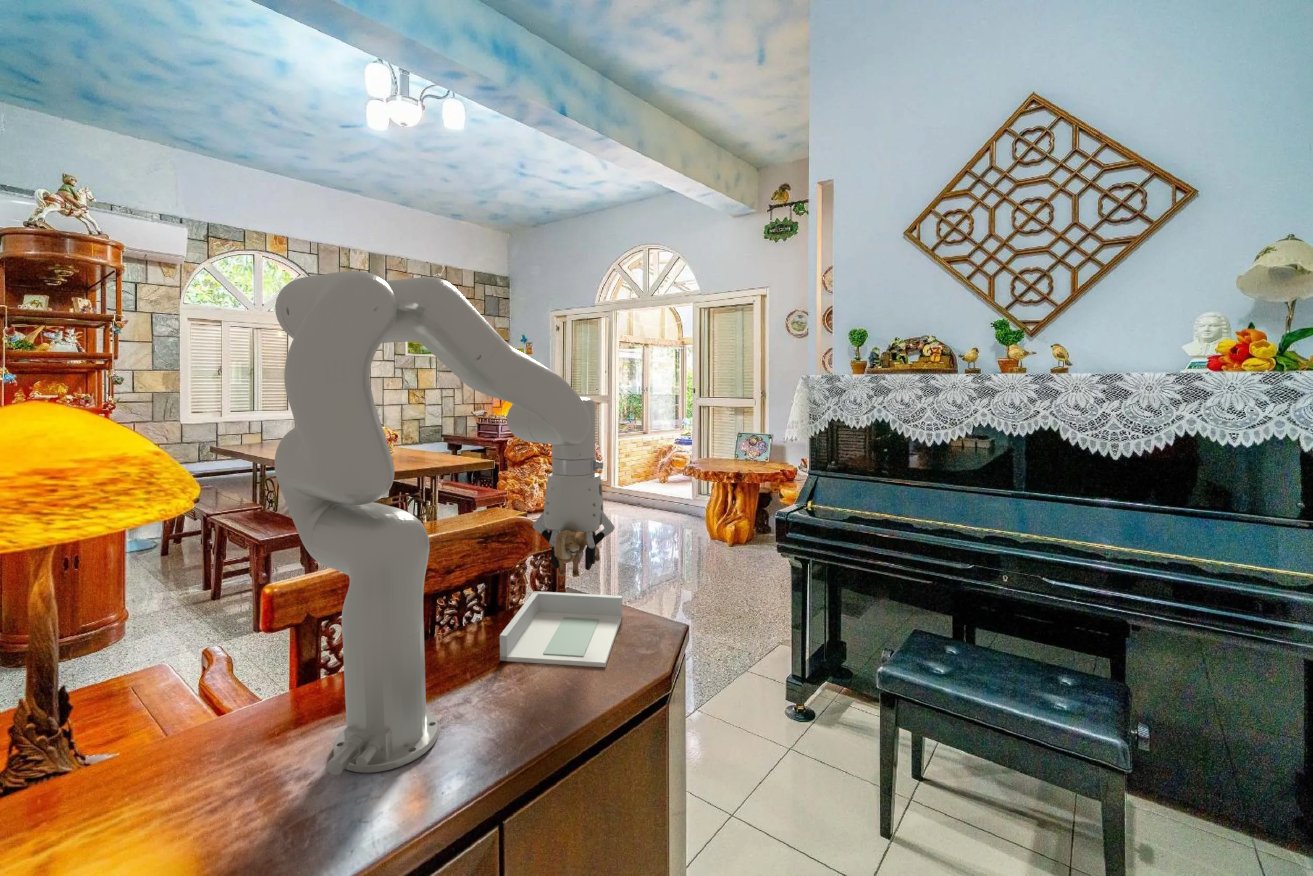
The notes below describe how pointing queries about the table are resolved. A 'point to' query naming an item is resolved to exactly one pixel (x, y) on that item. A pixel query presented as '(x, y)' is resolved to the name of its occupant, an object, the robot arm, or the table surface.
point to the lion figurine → (571, 550)
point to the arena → (563, 629)
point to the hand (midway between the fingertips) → (573, 565)
